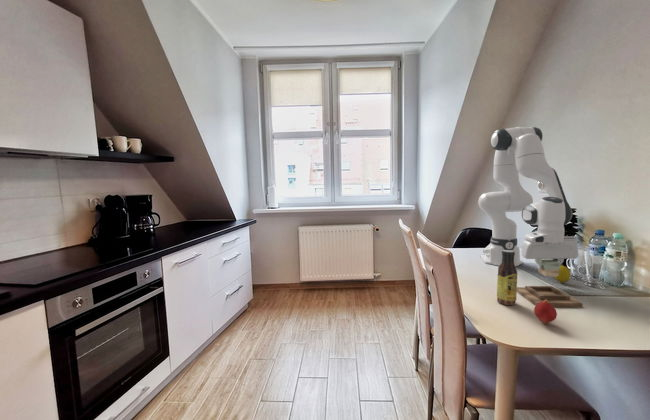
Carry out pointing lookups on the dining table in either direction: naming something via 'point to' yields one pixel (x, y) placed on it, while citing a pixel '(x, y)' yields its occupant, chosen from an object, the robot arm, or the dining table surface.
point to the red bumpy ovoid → (545, 312)
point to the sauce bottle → (507, 279)
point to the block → (549, 267)
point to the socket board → (548, 296)
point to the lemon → (563, 274)
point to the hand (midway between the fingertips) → (548, 268)
